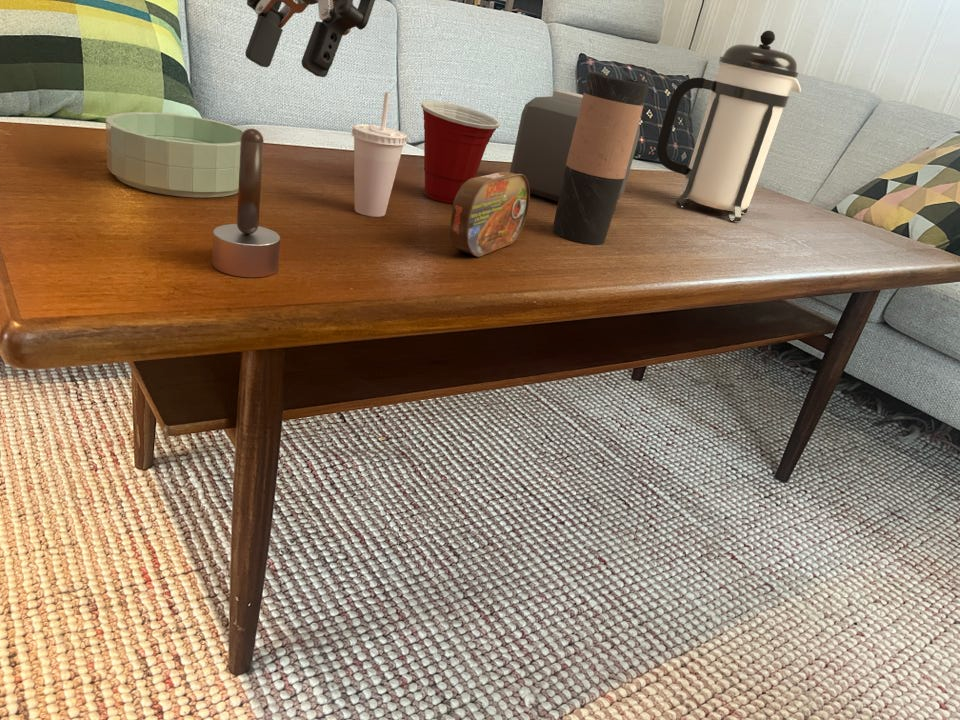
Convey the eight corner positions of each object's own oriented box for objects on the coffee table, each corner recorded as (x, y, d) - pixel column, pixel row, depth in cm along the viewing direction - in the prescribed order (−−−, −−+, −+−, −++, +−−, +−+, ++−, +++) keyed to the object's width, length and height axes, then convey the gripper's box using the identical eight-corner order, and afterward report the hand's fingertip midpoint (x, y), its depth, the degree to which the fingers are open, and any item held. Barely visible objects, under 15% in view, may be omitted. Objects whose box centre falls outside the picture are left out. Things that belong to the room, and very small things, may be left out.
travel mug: (581, 247, 92) (625, 81, 84) (538, 227, 97) (575, 68, 88) (618, 243, 97) (662, 86, 89) (575, 225, 102) (613, 74, 93)
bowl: (82, 181, 78) (79, 124, 75) (141, 155, 91) (140, 106, 89) (228, 208, 79) (230, 152, 76) (264, 178, 93) (267, 130, 90)
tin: (463, 263, 77) (478, 185, 74) (438, 254, 78) (451, 176, 75) (523, 240, 90) (539, 172, 86) (501, 233, 91) (515, 165, 87)
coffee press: (720, 202, 140) (776, 35, 128) (769, 227, 127) (837, 43, 114) (641, 191, 135) (691, 15, 122) (684, 216, 121) (745, 21, 109)
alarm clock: (619, 208, 118) (646, 108, 111) (597, 218, 108) (625, 110, 102) (529, 181, 123) (550, 85, 117) (500, 188, 114) (521, 84, 107)
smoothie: (358, 220, 84) (373, 94, 78) (334, 203, 88) (346, 83, 82) (406, 220, 88) (423, 99, 82) (380, 204, 92) (395, 88, 86)
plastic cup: (452, 213, 95) (468, 119, 90) (391, 190, 100) (404, 99, 95) (499, 206, 103) (517, 119, 98) (441, 185, 108) (455, 101, 103)
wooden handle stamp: (203, 270, 62) (207, 127, 57) (223, 251, 67) (228, 117, 62) (269, 282, 63) (279, 140, 58) (284, 261, 68) (294, 130, 63)
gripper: (267, -144, 62) (202, 39, 63) (374, -160, 53) (297, 51, 55) (333, -86, 68) (272, 80, 69) (438, -92, 59) (367, 97, 61)
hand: (283, 67), depth 62 cm, fingers open, 8 cm apart
